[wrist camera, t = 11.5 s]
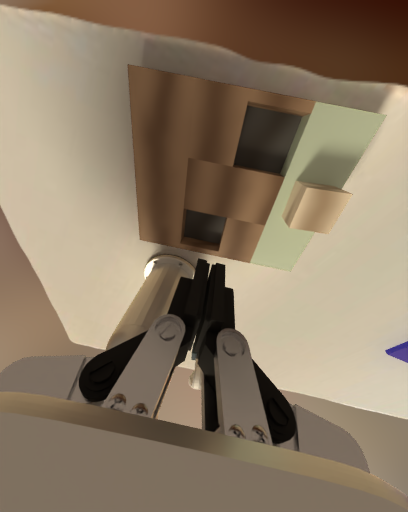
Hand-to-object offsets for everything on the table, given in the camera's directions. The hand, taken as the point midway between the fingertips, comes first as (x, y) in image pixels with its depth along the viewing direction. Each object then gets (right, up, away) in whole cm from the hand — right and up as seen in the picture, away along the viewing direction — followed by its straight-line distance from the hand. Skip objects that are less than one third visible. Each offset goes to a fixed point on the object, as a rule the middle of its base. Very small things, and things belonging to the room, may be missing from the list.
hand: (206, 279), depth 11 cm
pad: (+14, +10, +16) cm, 23 cm away
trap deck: (0, +13, +16) cm, 21 cm away
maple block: (+14, +9, +13) cm, 21 cm away
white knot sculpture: (-1, -29, +45) cm, 54 cm away
